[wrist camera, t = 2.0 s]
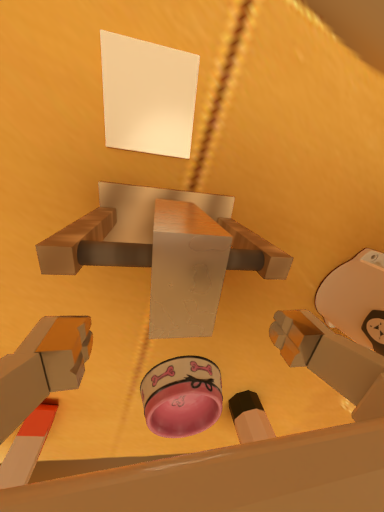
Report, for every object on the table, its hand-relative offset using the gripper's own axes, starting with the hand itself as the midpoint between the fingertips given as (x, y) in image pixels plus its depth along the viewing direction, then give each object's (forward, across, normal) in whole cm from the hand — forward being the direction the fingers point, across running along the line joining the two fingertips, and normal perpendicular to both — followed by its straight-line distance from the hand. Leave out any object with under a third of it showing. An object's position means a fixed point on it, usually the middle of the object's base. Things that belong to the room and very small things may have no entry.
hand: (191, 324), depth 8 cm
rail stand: (+21, 0, 0) cm, 21 cm away
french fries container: (+22, +22, +43) cm, 53 cm away
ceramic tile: (+21, +2, -13) cm, 25 cm away
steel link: (+14, 0, 0) cm, 15 cm away
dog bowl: (+22, -6, +38) cm, 44 cm away
